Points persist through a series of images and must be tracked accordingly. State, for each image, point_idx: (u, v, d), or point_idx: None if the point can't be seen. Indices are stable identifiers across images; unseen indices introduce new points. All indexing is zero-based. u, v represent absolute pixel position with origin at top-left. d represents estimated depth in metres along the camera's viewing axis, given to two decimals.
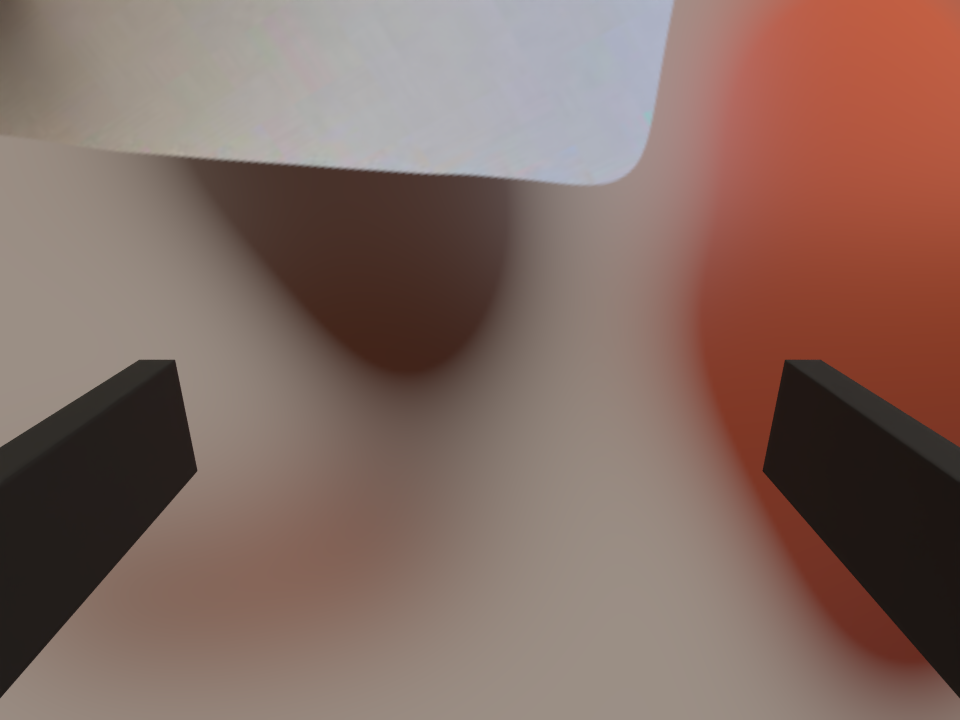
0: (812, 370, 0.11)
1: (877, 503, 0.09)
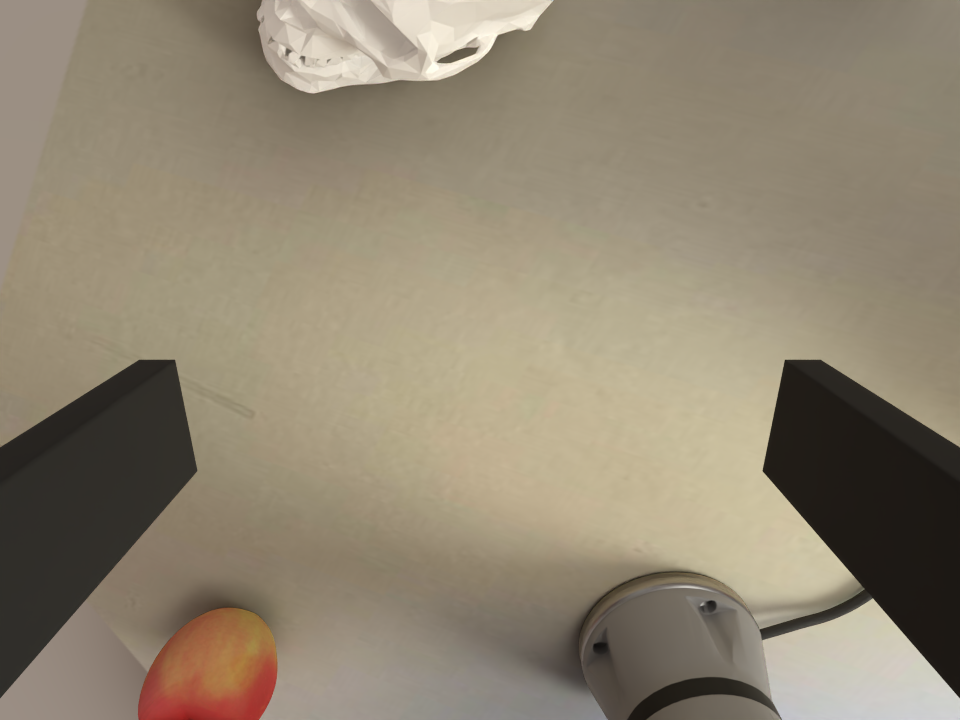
0: (812, 370, 0.11)
1: (877, 503, 0.09)
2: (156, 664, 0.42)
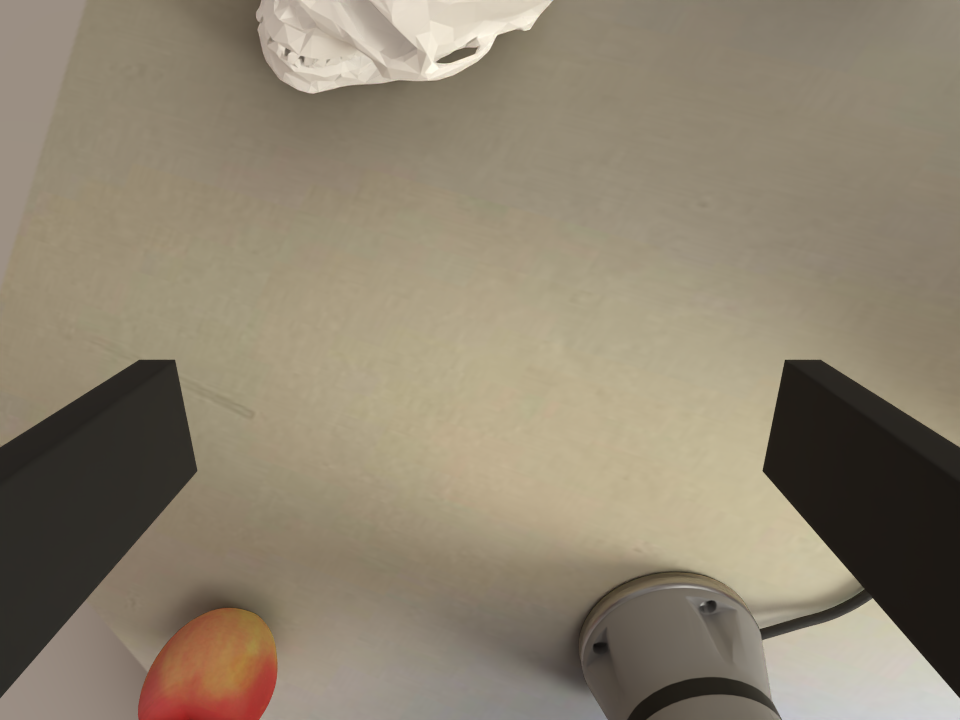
0: (812, 370, 0.11)
1: (877, 503, 0.09)
2: (156, 664, 0.42)
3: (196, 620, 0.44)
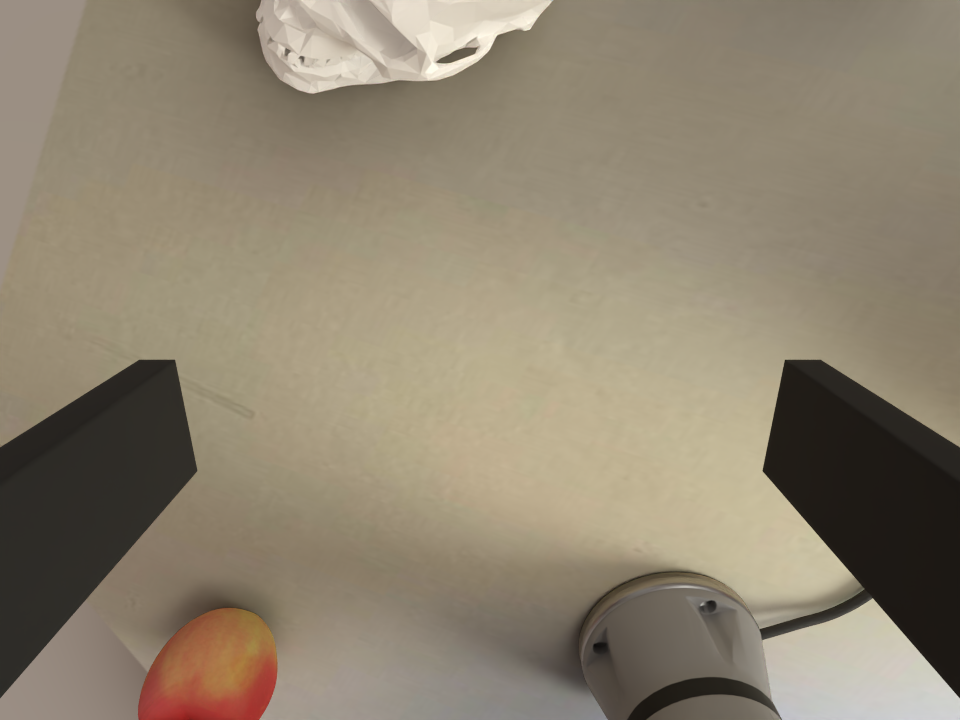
0: (812, 370, 0.11)
1: (877, 503, 0.09)
2: (156, 664, 0.42)
3: (196, 620, 0.44)
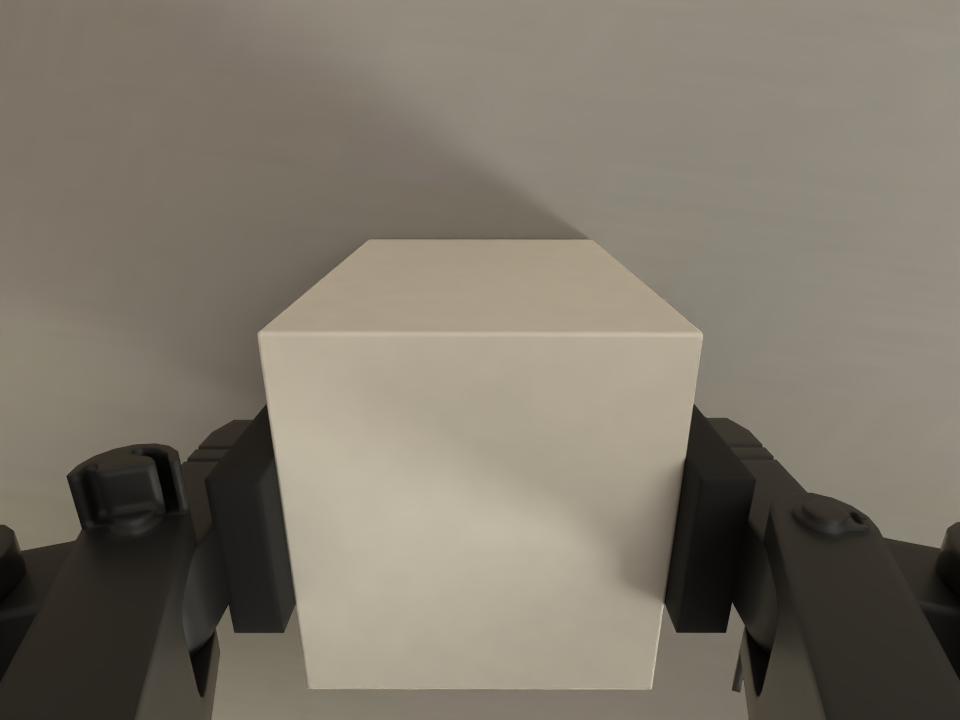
0: None
1: None
2: None
3: None
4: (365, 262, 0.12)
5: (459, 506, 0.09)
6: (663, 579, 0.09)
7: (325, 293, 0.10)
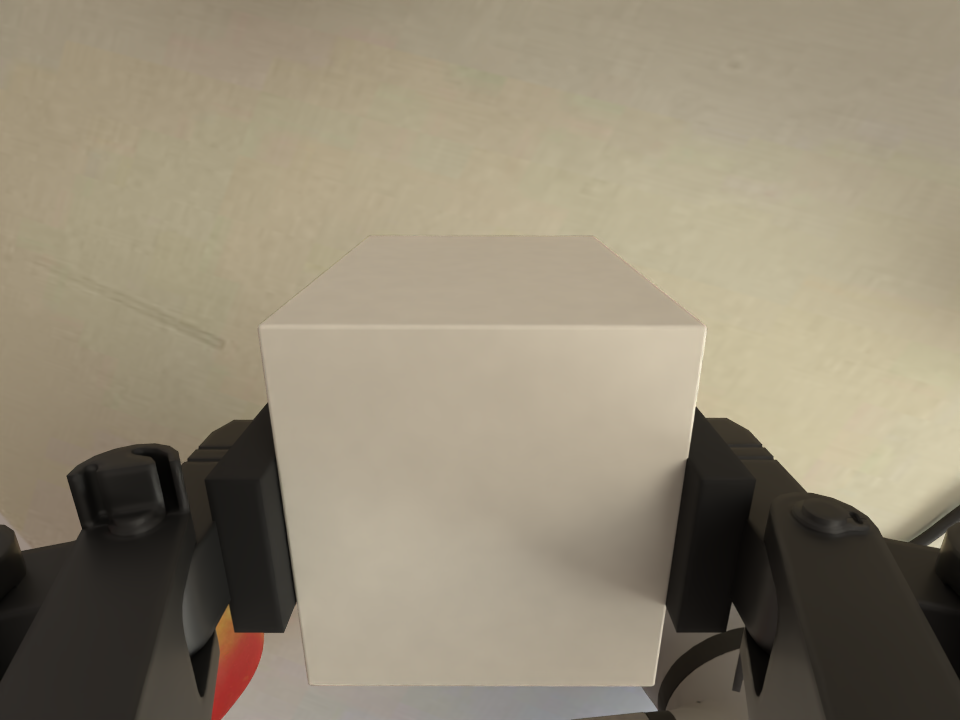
0: None
1: None
2: None
3: None
4: (366, 257, 0.12)
5: (461, 500, 0.08)
6: (666, 575, 0.09)
7: (326, 287, 0.10)
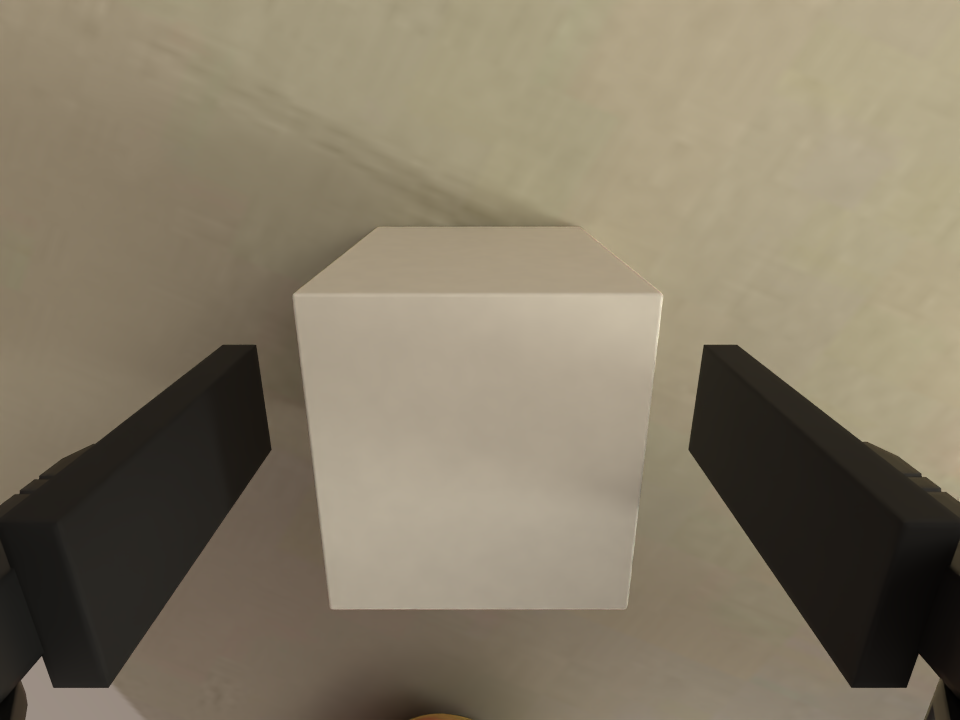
0: (725, 354, 0.12)
1: (765, 471, 0.10)
2: None
3: None
4: (376, 244, 0.14)
5: (461, 443, 0.10)
6: (634, 509, 0.11)
7: (344, 266, 0.11)
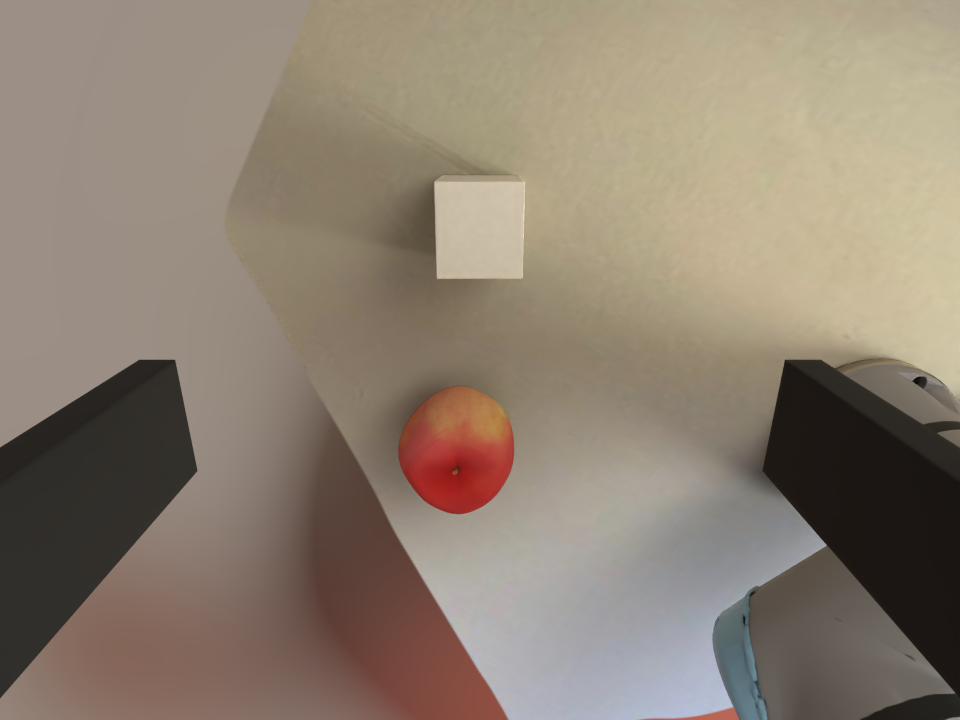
0: (812, 370, 0.11)
1: (877, 503, 0.09)
2: (418, 420, 0.45)
3: None
4: (446, 177, 0.42)
5: (475, 223, 0.38)
6: (521, 243, 0.39)
7: (441, 179, 0.39)
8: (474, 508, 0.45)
